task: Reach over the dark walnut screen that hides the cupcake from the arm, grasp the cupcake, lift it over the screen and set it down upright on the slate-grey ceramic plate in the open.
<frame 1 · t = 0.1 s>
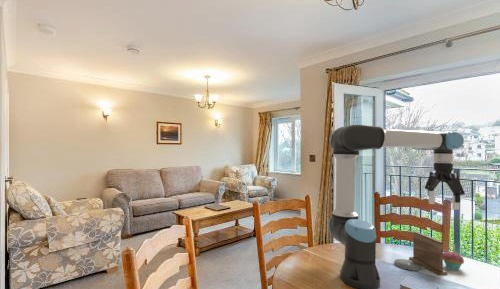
hand: (443, 206, 125), 28 cm above the table, fingers open, 13 cm apart
cupcake: (452, 268, 121), on the table
plate: (407, 265, 122), on the table
screen: (427, 266, 122), on the table
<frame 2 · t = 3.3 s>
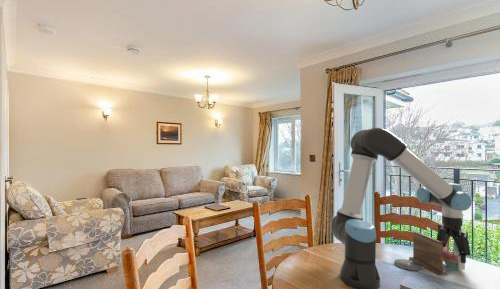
hand: (452, 265, 121), 1 cm above the table, fingers open, 9 cm apart
cupcake: (452, 268, 121), on the table, touching gripper
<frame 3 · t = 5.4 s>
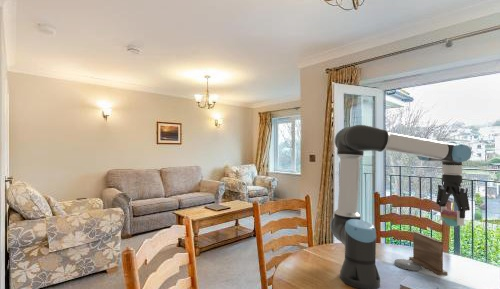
hand: (451, 222, 122), 21 cm above the table, fingers closed on cupcake, 8 cm apart
cupcake: (451, 225, 122), point 20 cm above the table, touching gripper
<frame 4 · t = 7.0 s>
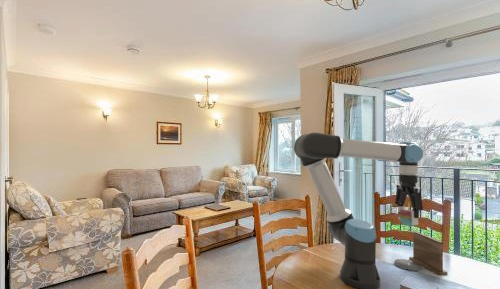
hand: (408, 222, 123), 20 cm above the table, fingers closed on cupcake, 8 cm apart
cupcake: (407, 225, 123), point 19 cm above the table, touching gripper
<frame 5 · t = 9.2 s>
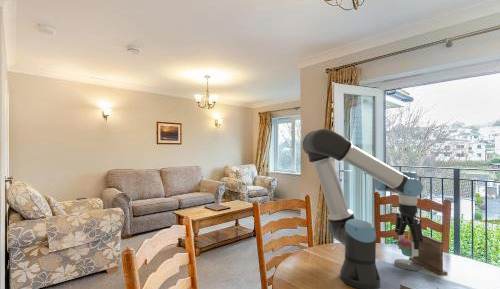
hand: (408, 252, 122), 6 cm above the table, fingers closed on cupcake, 8 cm apart
cupcake: (407, 255, 123), point 5 cm above the table, touching gripper
when the fingers open (4 cm above the table, at t = 10.7 s): cupcake drops 1 cm, resting on plate.
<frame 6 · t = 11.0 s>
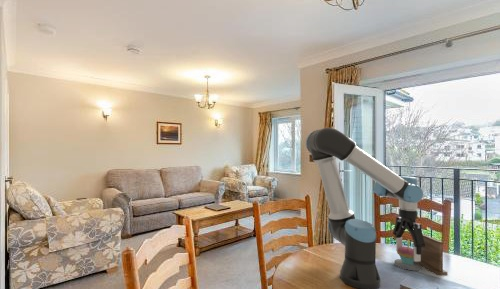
hand: (407, 255, 122), 5 cm above the table, fingers open, 11 cm apart
cupcake: (406, 263, 123), point 1 cm above the table, touching plate
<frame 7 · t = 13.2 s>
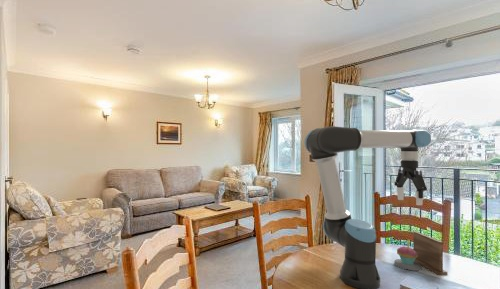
hand: (409, 202, 130), 29 cm above the table, fingers open, 13 cm apart
nothing on the table moved.
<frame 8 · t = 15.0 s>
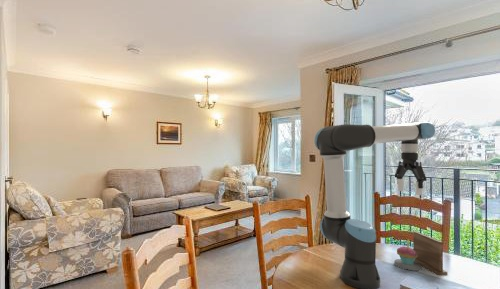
hand: (409, 192, 135), 33 cm above the table, fingers open, 13 cm apart
nothing on the table moved.
at the end: cupcake inside the target area on the plate (0.4 cm from its centre), point 1.1 cm above the plate's base; cupcake tilted 0°; the gripper is holding nothing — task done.
